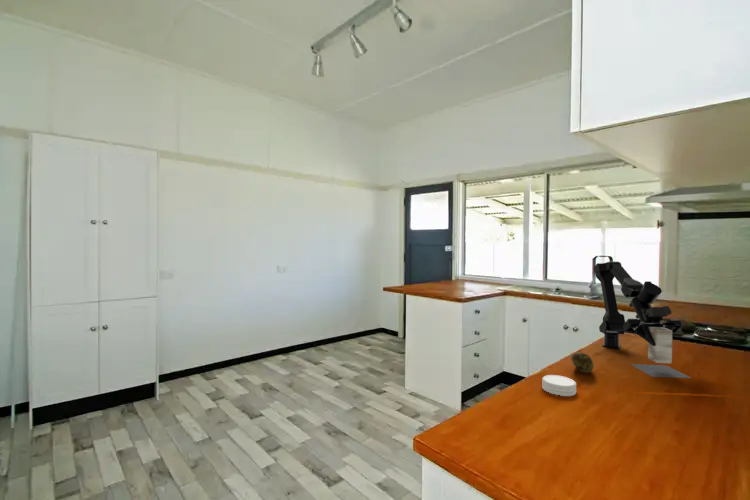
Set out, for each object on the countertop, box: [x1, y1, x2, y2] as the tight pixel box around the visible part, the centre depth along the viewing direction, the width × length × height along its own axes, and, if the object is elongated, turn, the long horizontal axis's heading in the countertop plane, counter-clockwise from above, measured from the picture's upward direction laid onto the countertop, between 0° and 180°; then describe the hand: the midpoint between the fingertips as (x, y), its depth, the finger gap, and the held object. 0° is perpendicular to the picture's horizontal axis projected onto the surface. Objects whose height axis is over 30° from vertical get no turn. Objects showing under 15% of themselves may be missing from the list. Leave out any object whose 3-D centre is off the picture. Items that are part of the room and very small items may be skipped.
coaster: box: [541, 374, 577, 397], centre depth 118 cm, size 10×10×4 cm
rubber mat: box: [630, 363, 692, 379], centre depth 133 cm, size 13×13×1 cm
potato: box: [570, 351, 595, 374], centre depth 134 cm, size 8×13×8 cm, turn 133°
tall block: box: [647, 327, 673, 364], centre depth 133 cm, size 5×5×12 cm
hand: (662, 345), depth 132 cm, fingers closed on tall block, 5 cm apart
